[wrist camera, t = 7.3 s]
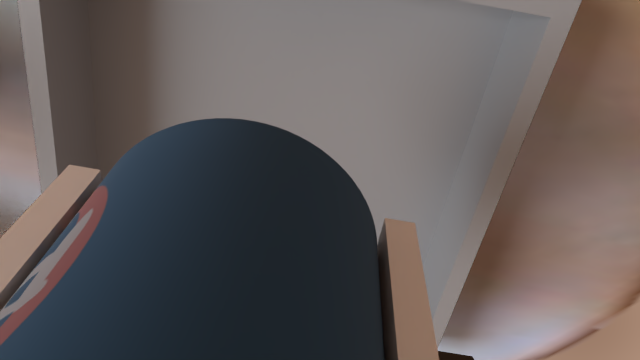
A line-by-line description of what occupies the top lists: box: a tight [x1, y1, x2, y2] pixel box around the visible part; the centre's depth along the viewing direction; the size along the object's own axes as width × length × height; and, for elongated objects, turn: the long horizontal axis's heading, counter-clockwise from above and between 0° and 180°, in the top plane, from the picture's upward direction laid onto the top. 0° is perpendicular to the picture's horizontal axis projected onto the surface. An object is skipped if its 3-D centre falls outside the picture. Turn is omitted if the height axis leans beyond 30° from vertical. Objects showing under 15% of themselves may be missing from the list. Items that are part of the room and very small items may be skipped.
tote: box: [17, 0, 582, 348], centre depth 25 cm, size 22×20×5 cm
